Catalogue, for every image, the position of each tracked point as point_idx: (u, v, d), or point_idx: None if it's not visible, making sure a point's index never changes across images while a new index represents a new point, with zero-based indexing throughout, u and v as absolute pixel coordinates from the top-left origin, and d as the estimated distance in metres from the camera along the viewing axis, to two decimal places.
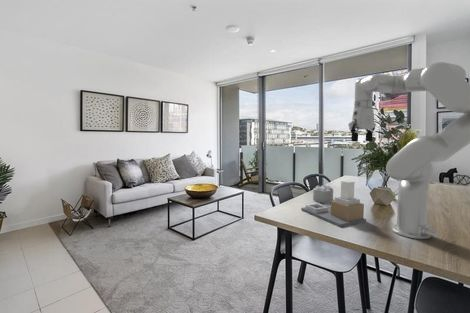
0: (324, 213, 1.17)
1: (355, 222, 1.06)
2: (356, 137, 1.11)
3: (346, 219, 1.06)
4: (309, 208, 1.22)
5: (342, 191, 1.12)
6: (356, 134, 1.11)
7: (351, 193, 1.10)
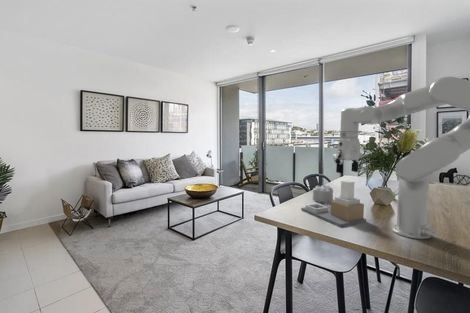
0: (324, 213, 1.17)
1: (355, 222, 1.06)
2: (341, 169, 1.08)
3: (346, 219, 1.06)
4: (309, 208, 1.22)
5: (342, 191, 1.12)
6: (341, 166, 1.07)
7: (351, 193, 1.10)
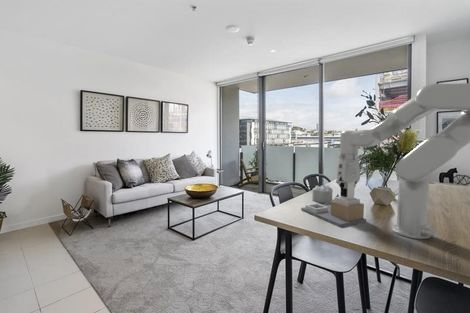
0: (324, 213, 1.17)
1: (355, 222, 1.06)
2: (345, 193, 1.09)
3: (346, 219, 1.06)
4: (309, 208, 1.22)
5: None
6: (345, 190, 1.09)
7: (351, 193, 1.10)
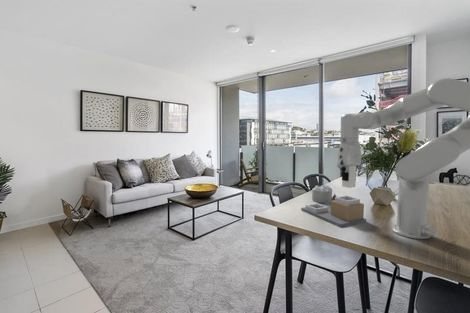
0: (324, 213, 1.17)
1: (355, 222, 1.06)
2: (346, 176, 1.08)
3: (346, 219, 1.06)
4: (309, 208, 1.22)
5: None
6: (346, 173, 1.08)
7: (352, 177, 1.09)
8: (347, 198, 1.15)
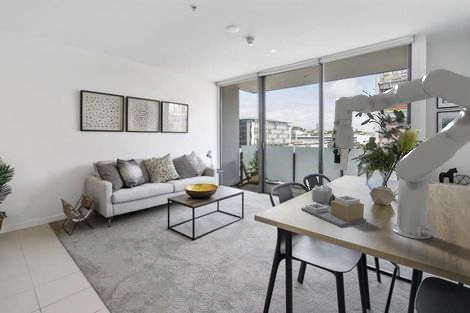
0: (324, 213, 1.17)
1: (355, 222, 1.06)
2: (338, 159, 1.10)
3: (346, 219, 1.06)
4: (309, 208, 1.22)
5: None
6: (338, 156, 1.10)
7: (344, 160, 1.11)
8: (347, 198, 1.15)
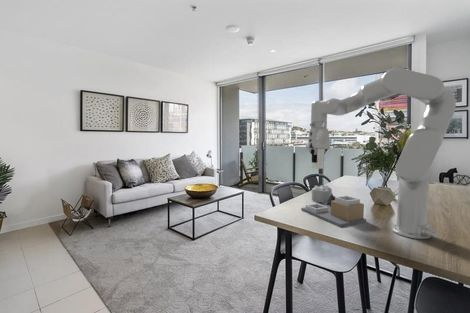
0: (324, 213, 1.17)
1: (355, 222, 1.06)
2: (315, 158, 1.18)
3: (346, 219, 1.06)
4: (309, 208, 1.22)
5: None
6: (315, 156, 1.18)
7: (321, 159, 1.18)
8: (347, 198, 1.15)
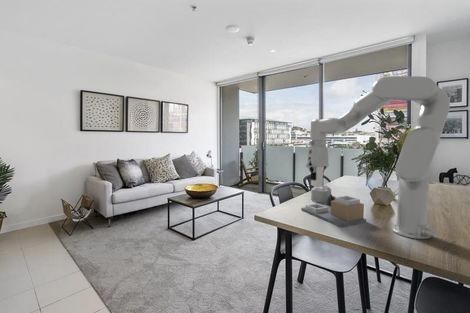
0: (324, 213, 1.17)
1: (355, 222, 1.06)
2: (314, 176, 1.19)
3: (346, 219, 1.06)
4: (309, 208, 1.22)
5: None
6: (314, 174, 1.19)
7: (320, 177, 1.19)
8: (347, 198, 1.15)
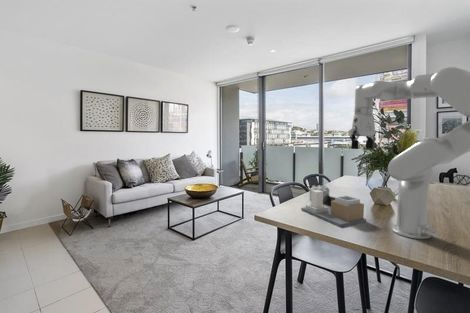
0: (324, 213, 1.17)
1: (355, 222, 1.06)
2: (356, 144, 1.09)
3: (346, 219, 1.06)
4: (309, 208, 1.22)
5: (312, 200, 1.22)
6: (356, 141, 1.09)
7: (320, 202, 1.20)
8: (347, 198, 1.15)
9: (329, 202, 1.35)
